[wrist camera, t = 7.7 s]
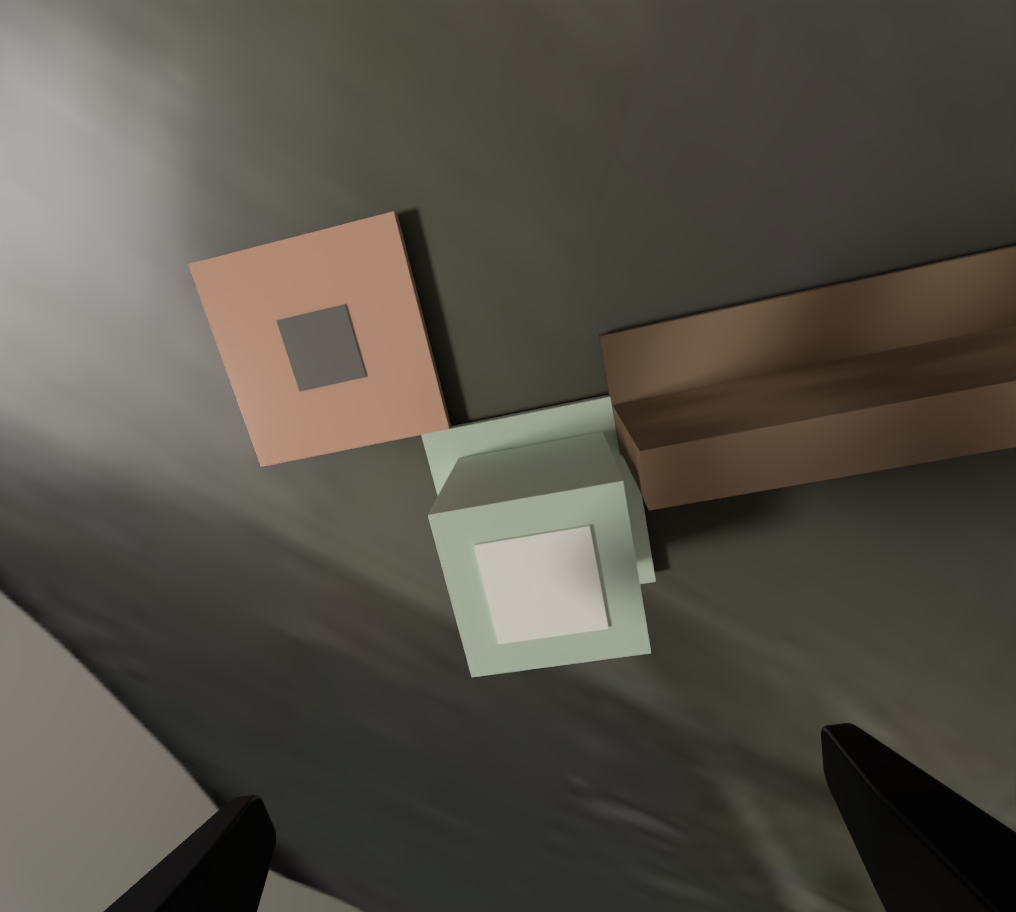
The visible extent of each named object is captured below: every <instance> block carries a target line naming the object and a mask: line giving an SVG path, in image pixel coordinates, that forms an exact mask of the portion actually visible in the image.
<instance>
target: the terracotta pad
mask: <svg viewBox="0 0 1016 912" xmlns="http://www.w3.org/2000/svg"><path fill="white" fill-rule="evenodd" d="M188 265H189V268H190V271H191V274H192V276H193V279H194V282H195V285H196V287H197V290H198V293H199V296H200V299H201V301H202V304H203V307H204V310H205V313H206V315H207V318H208V321H209V324H210V326H211V329H212V332H213V335H214V338H215V340H216V343H217V346H218V349H219V352H220V354H221V357H222V360H223V363H224V365H225V368H226V371H227V374H228V377H229V379H230V382H231V385H232V388H233V391H234V393H235V396H236V399H237V402H238V404H239V407H240V410H241V413H242V416H243V418H244V421H245V424H246V427H247V430H248V432H249V435H250V438H251V441H252V443H253V446H254V449H255V452H256V455H257V457H258V460H259V463H260V466H261V467H263V466H268V465H273V464H278V463H283V462H288V461H293V460H298V459H303V458H308V457H313V456H318V455H323V454H328V453H333V452H338V451H343V450H348V449H353V448H358V447H363V446H368V445H372V444H377V443H382V442H387V441H392V440H397V439H402V438H407V437H412V436H417V435H422V434H427V433H432V432H437V431H442V430H447V429H450V427H451V424H450V420H449V416H448V412H447V408H446V404H445V400H444V396H443V392H442V388H441V384H440V380H439V376H438V372H437V368H436V364H435V360H434V356H433V353H432V349H431V345H430V341H429V337H428V333H427V329H426V325H425V321H424V317H423V313H422V309H421V305H420V301H419V297H418V293H417V289H416V286H415V282H414V278H413V274H412V270H411V266H410V262H409V258H408V254H407V250H406V246H405V242H404V238H403V234H402V230H401V226H400V222H399V218H398V215H397V213H396V212H394V211H393V212H389V213H386V214H382V215H378V216H374V217H370V218H366V219H362V220H358V221H354V222H351V223H347V224H343V225H339V226H335V227H331V228H327V229H323V230H319V231H315V232H312V233H308V234H304V235H300V236H296V237H292V238H288V239H284V240H280V241H277V242H273V243H269V244H265V245H261V246H257V247H253V248H249V249H245V250H241V251H238V252H234V253H230V254H226V255H222V256H218V257H214V258H210V259H206V260H203V261H199V262H195V263H191V264H188Z"/></svg>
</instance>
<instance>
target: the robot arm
mask: <svg viewBox="0 0 1016 912" xmlns="http://www.w3.org/2000/svg"><path fill="white" fill-rule="evenodd" d="M821 742H822V755H823V768H824V774H825V778H826V781H827V784H828V786H829V789H830V791H831V793H832V795H833V798H834V800H835V802H836V804H837V806H838V808H839V811H840V813H841V815H842V817H843V819H844V822H845V824H846V826H847V828H848V830H849V833H850V835H851V837H852V839H853V841H854V843H855V846H856V848H857V850H858V852H859V854H860V857H861V859H862V861H863V863H864V865H865V867H866V870H867V872H868V874H869V876H870V878H871V881H872V883H873V885H874V887H875V889H876V891H877V893H878V895H879V898H880V900H881V902H882V904H883V906H884V908H885V910H886V912H1016V832H1014V831H1013V830H1011V829H1010V828H1008V827H1007V826H1005V825H1004V824H1002V823H1001V822H999V821H998V820H996V819H995V818H993V817H992V816H990V815H989V814H987V813H986V812H984V811H983V810H981V809H980V808H978V807H977V806H975V805H974V804H972V803H971V802H969V801H968V800H966V799H965V798H963V797H962V796H960V795H959V794H957V793H956V792H955V791H953V790H952V789H950V788H949V787H947V786H946V785H944V784H943V783H941V782H940V781H938V780H937V779H935V778H934V777H932V776H931V775H929V774H928V773H926V772H925V771H923V770H922V769H920V768H919V767H917V766H916V765H914V764H913V763H911V762H910V761H908V760H907V759H905V758H904V757H902V756H901V755H899V754H898V753H896V752H895V751H893V750H892V749H890V748H889V747H887V746H886V745H884V744H883V743H881V742H880V741H878V740H877V739H875V738H874V737H872V736H871V735H869V734H868V733H866V732H865V731H863V730H862V729H860V728H859V727H857V726H856V725H853V724H851V723H843V724H834V725H826V726H824V727H823V728H822V731H821ZM275 846H276V832H275V828H274V826H273V824H272V821H271V819H270V817H269V814H268V812H267V810H266V807H265V805H264V803H263V801H262V799H261V798H260V797H259V796H258V795H250V796H242V797H236V798H234V799H232V800H230V801H229V802H228V803H227V804H226V805H224V806H223V807H222V808H221V809H220V810H219V811H218V812H216V813H215V814H214V815H213V816H212V817H211V818H210V819H208V820H207V821H206V822H205V823H204V824H203V825H202V826H201V827H199V828H198V829H197V830H196V831H195V832H194V833H193V834H191V835H190V836H189V837H188V838H187V839H186V840H185V841H183V842H182V843H181V844H180V845H179V846H178V847H177V848H175V850H173V851H172V852H171V853H170V854H169V855H168V856H166V857H165V858H164V859H163V860H162V861H161V862H160V863H158V864H157V865H156V866H155V867H154V868H153V869H151V870H150V871H149V872H148V873H147V874H146V875H145V876H144V877H142V878H141V879H140V880H139V881H138V882H137V883H136V884H134V885H133V886H132V887H131V888H130V889H129V890H128V891H127V892H125V893H124V894H123V895H122V896H121V897H120V898H119V899H117V900H116V901H115V902H114V903H113V904H112V905H110V906H109V907H108V908H107V909H106V910H105V911H104V912H257V910H258V906H259V902H260V899H261V896H262V892H263V889H264V885H265V882H266V878H267V875H268V871H269V868H270V864H271V861H272V857H273V854H274V850H275Z"/></svg>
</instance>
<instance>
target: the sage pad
mask: <svg viewBox="0 0 1016 912" xmlns="http://www.w3.org/2000/svg"><path fill="white" fill-rule="evenodd" d="M598 432H603V433H604V436H605V438H606V441H607V443H608V445H609V448H610V450H611V453H612V455H613V458H614V460H615V462H616V465H617V467H618V470H619V472H620V474H621V477H622V479H623V483H624V489H625V495H626V501H627V508H628V514H629V520H630V526H631V532H632V538H633V544H634V551H635V557H636V563H637V569H638V575H639V581H640V584H644V583H650V582H656V580H655V574H654V567H653V561H652V555H651V549H650V543H649V536H648V530H647V524H646V518H645V512H644V505H643V499H642V495H641V493H640V491H639V488H638V486H637V484H636V482H635V480H634V478H633V476H632V474H631V472H630V470H629V468H628V465H627V463H626V461H625V459H624V457H623V455H622V456H621V455H620V451H619V446H618V440H617V434H616V428H615V422H614V416H613V410H612V404H611V398H610V396H609V395H604V396H599V397H594V398H589V399H584V400H580V401H575V402H570V403H565V404H560V405H555V406H550V407H545V408H540V409H535V410H530V411H525V412H520V413H515V414H510V415H505V416H500V417H495V418H490V419H485V420H480V421H475V422H470V423H465V424H460V425H455V426H451V427H450V429H447V430H442V431H437V432H432V433H427V434H422V435H421V436H422V439H423V443H424V447H425V450H426V454H427V458H428V462H429V465H430V469H431V473H432V476H433V480H434V484H435V487H436V491H437V495H439V493H440V491H441V489H442V488H443V486H444V484H445V482H446V480H447V478H448V476H449V475H450V473H451V471H452V469H453V467H454V465H455V463H456V462H457V460H458V458H464V457H469V456H474V455H480V454H485V453H490V452H496V451H501V450H507V449H512V448H517V447H523V446H528V445H533V444H539V443H544V442H549V441H555V440H560V439H565V438H571V437H576V436H582V435H587V434H592V433H598Z"/></svg>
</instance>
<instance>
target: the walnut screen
mask: <svg viewBox="0 0 1016 912" xmlns="http://www.w3.org/2000/svg"><path fill="white" fill-rule="evenodd" d="M599 339H600V345H601V351H602V357H603V363H604V369H605V375H606V381H607V386H608V392H609V396H610V398H611V404H612V410H613V416H614V422H615V428H616V434H617V440H618V446H619V451H620V455H621V456H622V455H623V457H624V459H625V461H626V463H627V465H628V468H629V470H630V472H631V474H632V476H633V478H634V480H635V482H636V484H637V486H638V488H639V491H640V493H641V495H642V497H643V499H644V501H645V503H646V505H647V507H648V509H649V510H655V509H661V508H667V507H672V506H678V505H684V504H690V503H696V502H701V501H707V500H713V499H719V498H724V497H730V496H736V495H742V494H748V493H753V492H759V491H765V490H771V489H776V488H782V487H788V486H794V485H800V484H805V483H811V482H817V481H823V480H828V479H834V478H840V477H846V476H852V475H857V474H863V473H869V472H875V471H881V470H886V469H892V468H898V467H904V466H909V465H915V464H921V463H927V462H933V461H938V460H944V459H950V458H956V457H961V456H967V455H973V454H979V453H985V452H990V451H996V450H1002V449H1008V448H1013V447H1016V245H1013V246H1009V247H1004V248H999V249H995V250H990V251H985V252H981V253H976V254H972V255H967V256H962V257H958V258H953V259H948V260H944V261H939V262H935V263H930V264H925V265H921V266H916V267H911V268H907V269H902V270H897V271H893V272H888V273H884V274H879V275H874V276H870V277H865V278H860V279H856V280H851V281H846V282H842V283H837V284H833V285H828V286H823V287H819V288H814V289H809V290H805V291H800V292H796V293H791V294H786V295H782V296H777V297H772V298H768V299H763V300H758V301H754V302H749V303H745V304H740V305H735V306H731V307H726V308H721V309H717V310H712V311H707V312H703V313H698V314H694V315H689V316H684V317H680V318H675V319H670V320H666V321H661V322H657V323H652V324H647V325H643V326H638V327H633V328H629V329H624V330H619V331H615V332H610V333H606V334H601V335H599Z"/></svg>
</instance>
